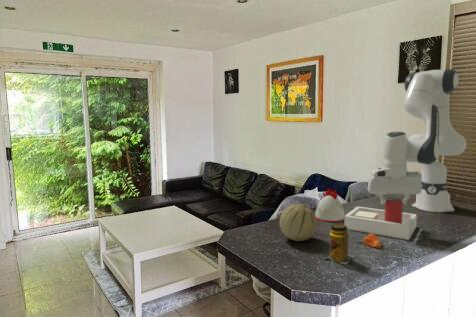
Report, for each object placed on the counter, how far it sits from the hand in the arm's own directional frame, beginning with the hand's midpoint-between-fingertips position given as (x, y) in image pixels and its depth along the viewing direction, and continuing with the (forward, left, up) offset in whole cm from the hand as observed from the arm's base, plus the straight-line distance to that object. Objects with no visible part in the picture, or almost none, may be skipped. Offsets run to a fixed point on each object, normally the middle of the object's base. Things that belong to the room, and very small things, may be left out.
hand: (393, 204), depth 137 cm
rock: (+19, -3, -13) cm, 23 cm away
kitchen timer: (-3, -28, -12) cm, 31 cm away
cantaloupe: (+29, -29, -12) cm, 43 cm away
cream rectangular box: (0, -11, -11) cm, 16 cm away
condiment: (+37, -9, -12) cm, 40 cm away
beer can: (0, 0, -10) cm, 10 cm away
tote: (0, -5, -12) cm, 13 cm away
